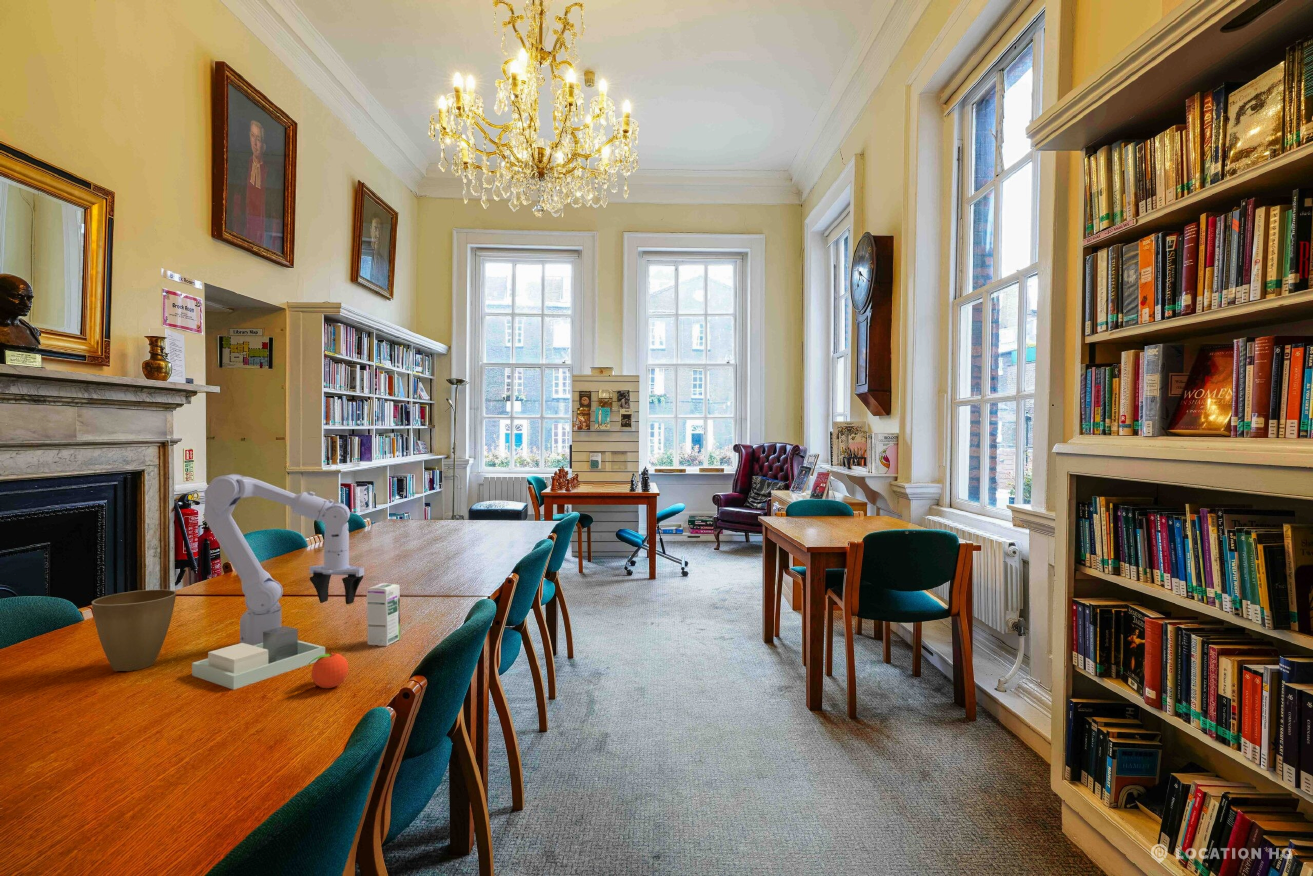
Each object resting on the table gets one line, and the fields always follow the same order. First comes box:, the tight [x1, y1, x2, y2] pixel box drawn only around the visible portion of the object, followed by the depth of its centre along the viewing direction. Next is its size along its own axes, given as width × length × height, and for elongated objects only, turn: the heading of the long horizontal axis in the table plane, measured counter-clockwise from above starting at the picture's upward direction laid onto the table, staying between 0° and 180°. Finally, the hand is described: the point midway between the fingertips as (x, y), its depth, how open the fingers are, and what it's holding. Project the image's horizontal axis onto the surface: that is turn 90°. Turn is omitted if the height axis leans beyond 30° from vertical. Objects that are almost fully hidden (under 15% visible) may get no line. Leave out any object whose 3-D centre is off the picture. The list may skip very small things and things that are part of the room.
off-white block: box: [207, 642, 268, 674], centre depth 136 cm, size 10×7×5 cm
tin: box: [263, 625, 299, 664], centre depth 144 cm, size 5×5×7 cm
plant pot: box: [91, 589, 177, 672], centre depth 143 cm, size 15×15×16 cm
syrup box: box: [366, 582, 402, 647], centre depth 160 cm, size 6×6×14 cm
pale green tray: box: [191, 639, 326, 691], centre depth 141 cm, size 16×20×4 cm
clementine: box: [306, 652, 349, 689], centre depth 131 cm, size 8×7×7 cm
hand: (336, 602), depth 162 cm, fingers open, 7 cm apart
